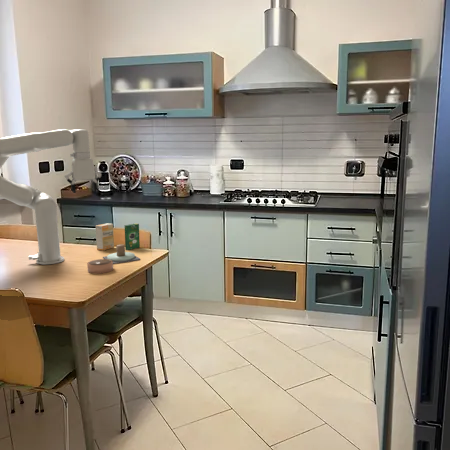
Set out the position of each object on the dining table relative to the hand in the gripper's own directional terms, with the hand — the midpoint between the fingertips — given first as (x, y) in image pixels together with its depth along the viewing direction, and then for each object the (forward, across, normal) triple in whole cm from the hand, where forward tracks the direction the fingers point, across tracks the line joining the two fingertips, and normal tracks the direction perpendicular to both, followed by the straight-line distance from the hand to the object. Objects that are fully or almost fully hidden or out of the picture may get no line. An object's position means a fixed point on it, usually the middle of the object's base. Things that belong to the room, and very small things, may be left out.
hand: (84, 191), depth 228 cm
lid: (+32, +12, -13) cm, 36 cm away
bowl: (+32, -2, -26) cm, 42 cm away
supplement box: (+32, +12, +12) cm, 37 cm away
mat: (+32, +12, -13) cm, 37 cm away
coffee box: (+32, +24, +4) cm, 41 cm away
